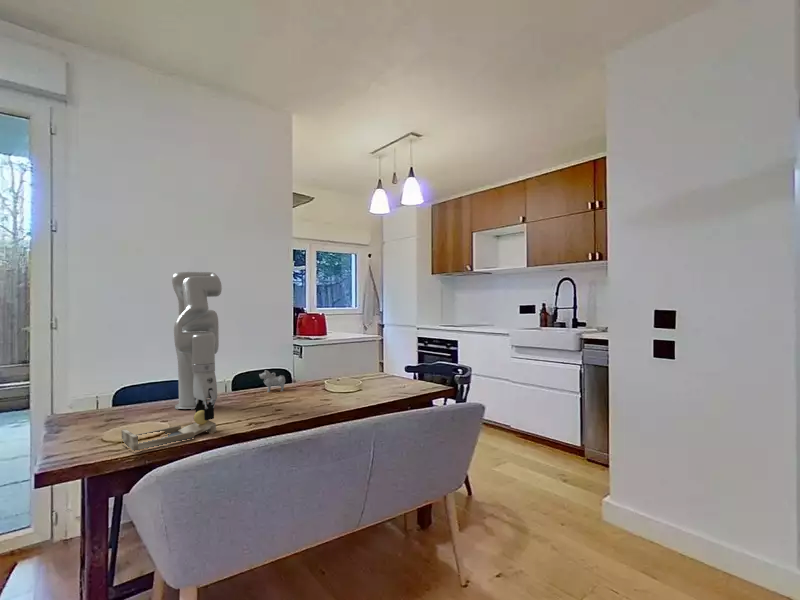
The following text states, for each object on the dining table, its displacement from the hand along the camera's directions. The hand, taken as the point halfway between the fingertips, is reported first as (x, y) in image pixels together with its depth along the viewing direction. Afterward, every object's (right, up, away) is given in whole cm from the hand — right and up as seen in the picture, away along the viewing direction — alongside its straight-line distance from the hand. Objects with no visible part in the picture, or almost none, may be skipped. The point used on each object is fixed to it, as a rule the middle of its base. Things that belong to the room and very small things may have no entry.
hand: (204, 417), depth 168 cm
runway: (-11, -5, -11) cm, 16 cm away
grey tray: (-11, -5, -11) cm, 16 cm away
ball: (-1, 0, -1) cm, 1 cm away
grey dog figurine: (+6, -4, +68) cm, 68 cm away
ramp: (-2, -5, -2) cm, 6 cm away
